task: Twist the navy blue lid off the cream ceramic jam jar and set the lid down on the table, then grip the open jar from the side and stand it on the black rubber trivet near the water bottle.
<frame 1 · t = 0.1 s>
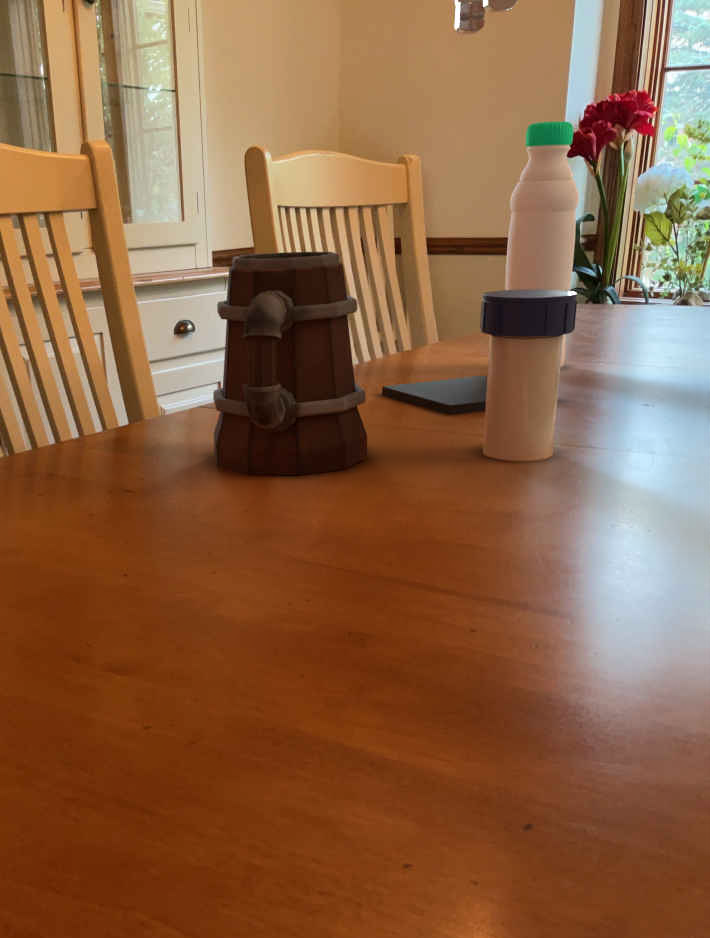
hand: (483, 22, 69), 29 cm above the table, tool pointing down, fingers open, 8 cm apart
trivet: (466, 399, 102), on the table
jam jar: (517, 454, 80), on the table
jam lid: (528, 298, 76), point 11 cm above the table, screwed on, not yet turned
mug: (284, 468, 79), on the table
water bottle: (531, 370, 118), on the table
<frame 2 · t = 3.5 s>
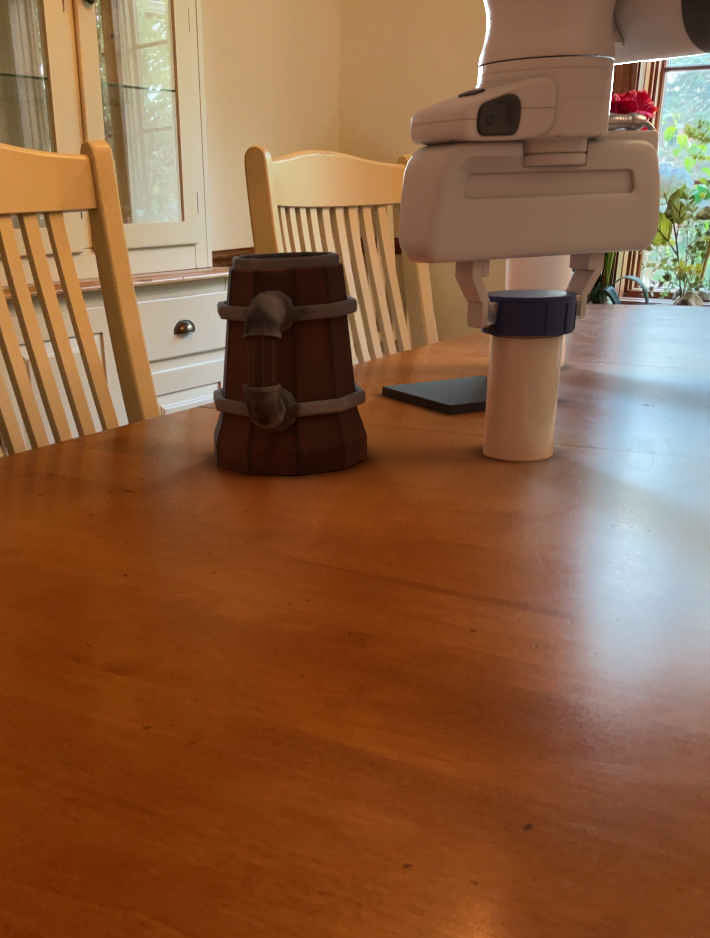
hand: (525, 323, 76), 10 cm above the table, tool pointing down, fingers closed on jam lid, 6 cm apart
jam lid: (529, 298, 76), point 11 cm above the table, screwed on, not yet turned, touching gripper
everything else where it was.
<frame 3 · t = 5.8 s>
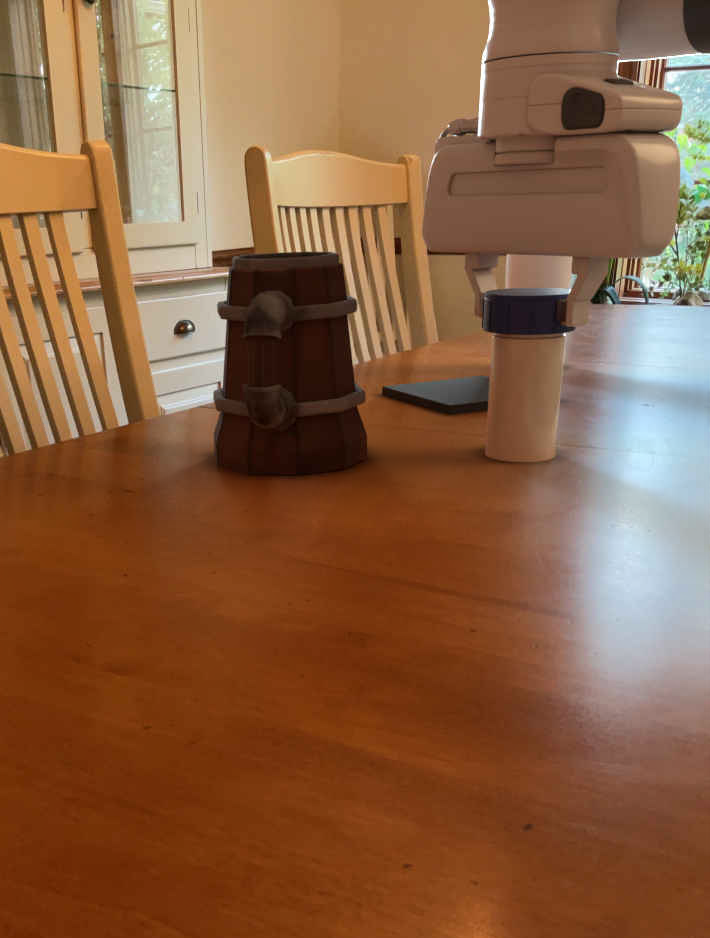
hand: (528, 321, 76), 10 cm above the table, tool pointing down, fingers closed on jam lid, 6 cm apart
jam jar: (519, 455, 80), on the table, touching jam lid
jam lid: (531, 296, 75), point 12 cm above the table, off its thread, touching gripper, jam jar
everything else where it was.
when the fingers open (7 cm above the table, at t = 33.2 s): jam lid stays where it is, point 2 cm above the table.
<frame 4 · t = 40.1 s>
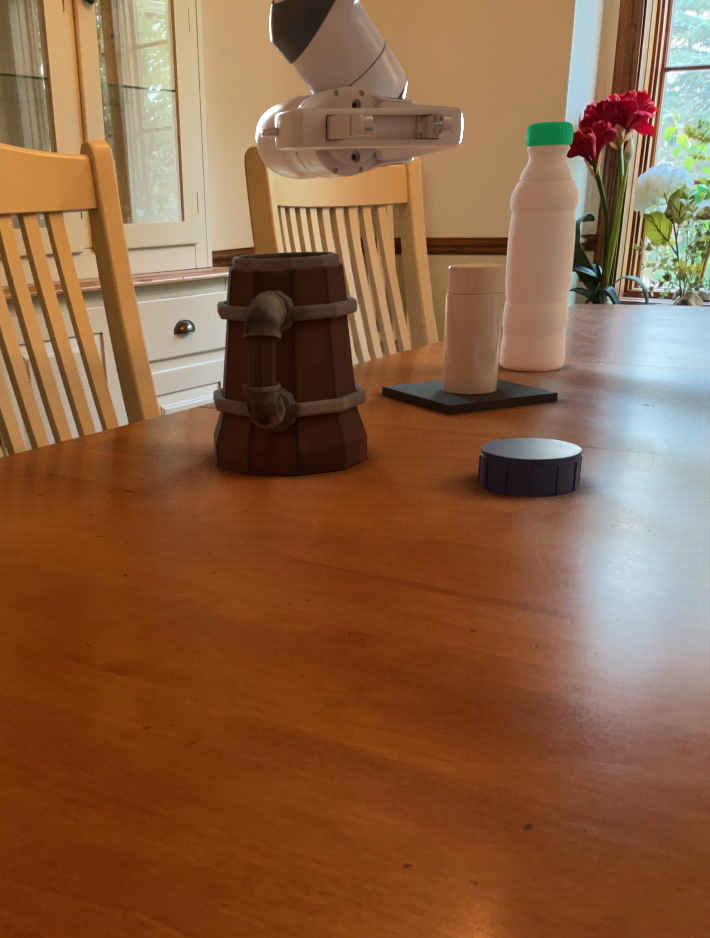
hand: (408, 124, 102), 25 cm above the table, tool horizontal, fingers open, 8 cm apart
jam jar: (469, 389, 101), point 1 cm above the table, touching trivet
jam lid: (530, 453, 71), point 2 cm above the table, off its thread
everything else where it was.
at the end: jam lid point 2.3 cm above the table; the gripper is holding nothing; jam jar inside the target area on the trivet (0.2 cm from its centre), point 1.0 cm above the trivet's base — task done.
